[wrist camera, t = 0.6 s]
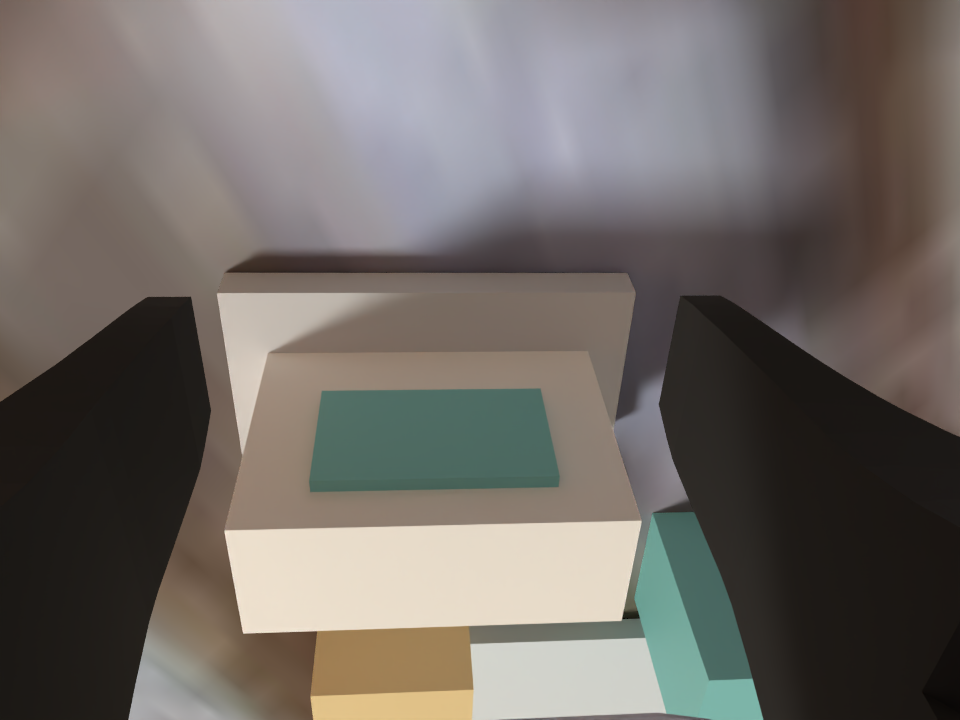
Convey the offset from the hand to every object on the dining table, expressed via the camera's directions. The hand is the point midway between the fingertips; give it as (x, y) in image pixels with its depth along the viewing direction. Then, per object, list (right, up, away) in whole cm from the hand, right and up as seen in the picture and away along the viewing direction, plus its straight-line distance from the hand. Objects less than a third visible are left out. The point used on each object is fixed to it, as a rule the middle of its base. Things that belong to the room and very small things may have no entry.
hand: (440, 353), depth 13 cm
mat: (+4, -13, +19) cm, 24 cm away
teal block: (+8, -6, +15) cm, 18 cm away
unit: (-1, 0, +10) cm, 10 cm away
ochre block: (-2, -7, +14) cm, 16 cm away
